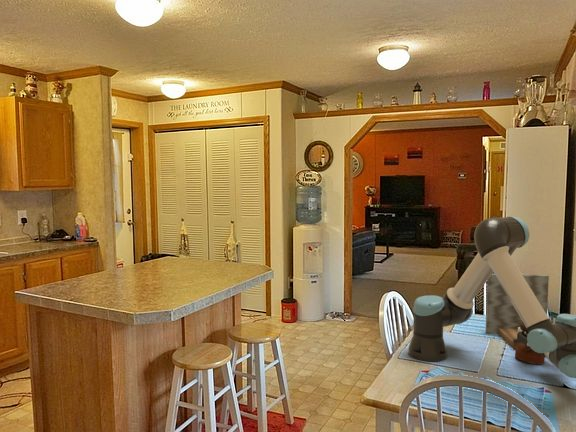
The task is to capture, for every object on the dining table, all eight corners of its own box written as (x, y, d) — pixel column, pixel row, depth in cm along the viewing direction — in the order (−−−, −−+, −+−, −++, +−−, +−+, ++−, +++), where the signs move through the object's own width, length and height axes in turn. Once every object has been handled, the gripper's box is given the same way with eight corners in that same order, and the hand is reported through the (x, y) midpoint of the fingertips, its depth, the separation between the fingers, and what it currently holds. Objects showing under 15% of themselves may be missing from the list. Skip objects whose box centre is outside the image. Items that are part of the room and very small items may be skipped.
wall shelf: (501, 349, 197) (503, 283, 195) (485, 332, 219) (487, 273, 217) (566, 352, 194) (570, 285, 192) (544, 335, 216) (546, 275, 214)
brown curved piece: (544, 368, 177) (545, 316, 176) (512, 362, 183) (513, 312, 181) (547, 355, 190) (548, 306, 188) (517, 350, 196) (518, 303, 194)
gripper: (524, 360, 167) (502, 339, 190) (584, 363, 165) (555, 341, 187) (524, 339, 167) (503, 320, 189) (585, 342, 164) (556, 322, 187)
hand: (529, 331), depth 188 cm, fingers closed on brown curved piece, 7 cm apart
